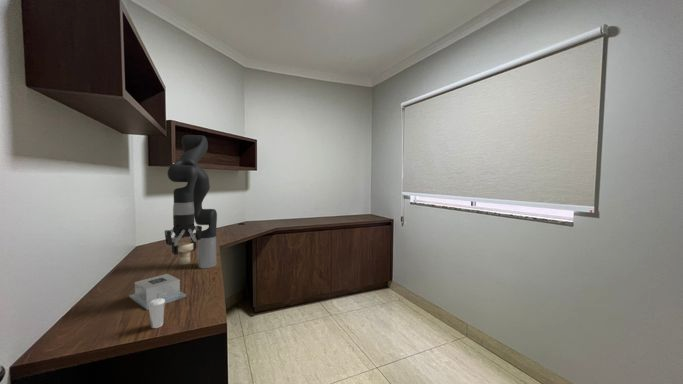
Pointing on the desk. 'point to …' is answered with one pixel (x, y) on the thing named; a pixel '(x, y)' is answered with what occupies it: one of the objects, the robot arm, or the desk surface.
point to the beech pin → (184, 252)
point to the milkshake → (156, 312)
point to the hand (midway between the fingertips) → (184, 252)
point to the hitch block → (157, 290)
